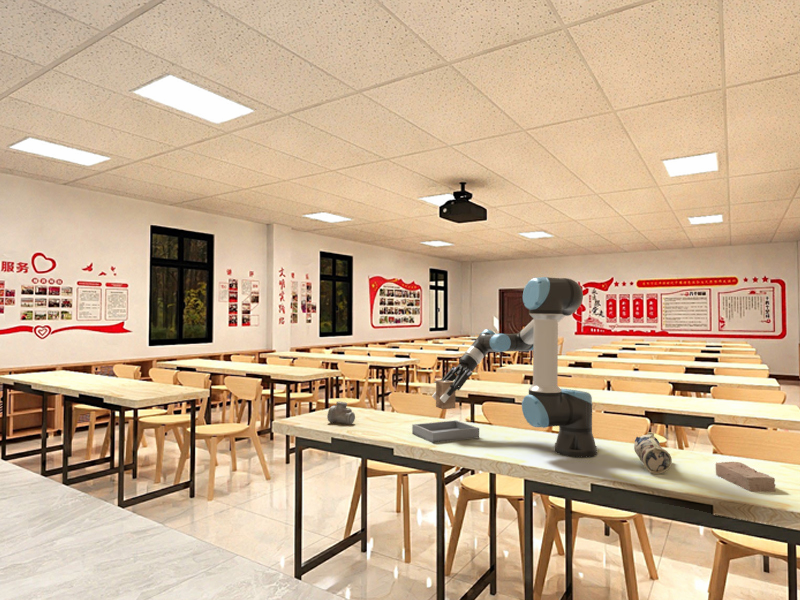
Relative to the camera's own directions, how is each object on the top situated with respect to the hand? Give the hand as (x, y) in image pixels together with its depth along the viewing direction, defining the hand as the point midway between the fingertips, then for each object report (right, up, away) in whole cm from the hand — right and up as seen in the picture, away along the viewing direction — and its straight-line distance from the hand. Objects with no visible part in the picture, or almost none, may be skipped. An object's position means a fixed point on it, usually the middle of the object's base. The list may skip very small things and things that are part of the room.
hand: (438, 399), depth 223 cm
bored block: (+3, -4, +1) cm, 5 cm away
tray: (+3, -16, +1) cm, 16 cm away
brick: (+90, -15, -60) cm, 109 cm away
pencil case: (+69, -15, -43) cm, 83 cm away
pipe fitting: (-43, -16, +25) cm, 53 cm away
